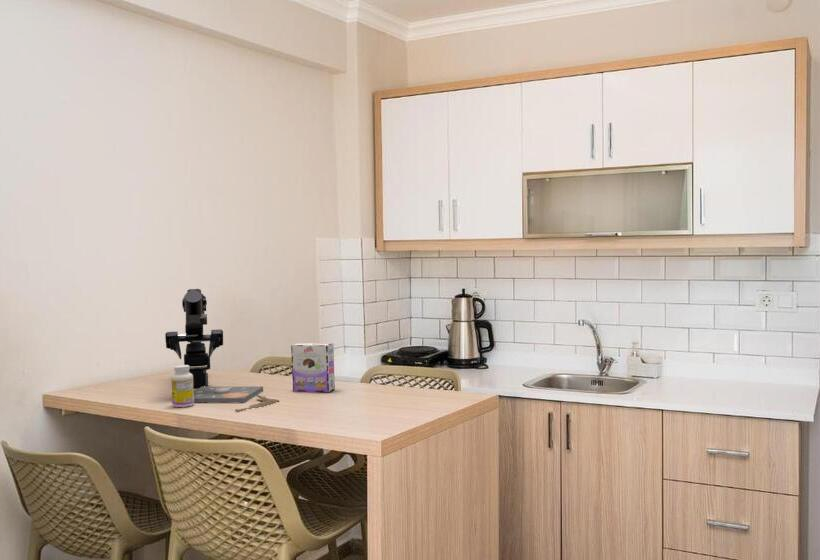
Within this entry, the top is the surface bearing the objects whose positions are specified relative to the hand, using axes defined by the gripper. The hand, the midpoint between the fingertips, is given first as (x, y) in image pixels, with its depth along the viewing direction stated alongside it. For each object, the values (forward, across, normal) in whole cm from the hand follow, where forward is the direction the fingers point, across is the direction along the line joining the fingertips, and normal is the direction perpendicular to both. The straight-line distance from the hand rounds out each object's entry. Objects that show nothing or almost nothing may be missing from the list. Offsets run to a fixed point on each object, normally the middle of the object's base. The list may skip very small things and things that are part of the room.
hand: (195, 357), depth 267 cm
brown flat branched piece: (+21, +16, +2) cm, 27 cm away
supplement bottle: (+16, -4, +5) cm, 17 cm away
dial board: (+7, +8, +13) cm, 17 cm away
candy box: (+8, +39, +12) cm, 42 cm away
